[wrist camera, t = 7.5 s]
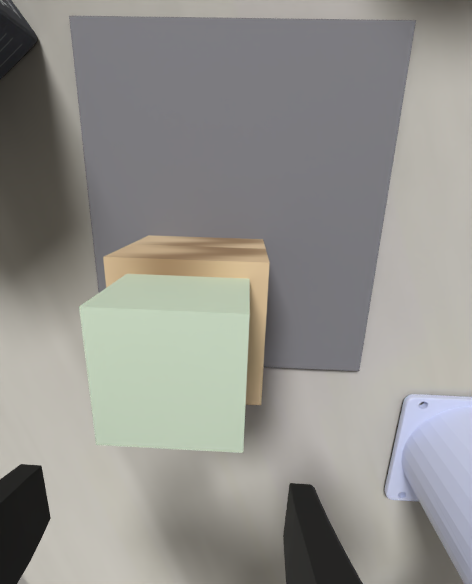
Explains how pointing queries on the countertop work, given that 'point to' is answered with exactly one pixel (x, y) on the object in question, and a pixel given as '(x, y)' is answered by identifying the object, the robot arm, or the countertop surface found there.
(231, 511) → the countertop surface
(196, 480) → the countertop surface
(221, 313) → the sage block
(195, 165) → the mat
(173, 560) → the countertop surface
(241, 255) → the oak slab upper
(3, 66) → the small box
